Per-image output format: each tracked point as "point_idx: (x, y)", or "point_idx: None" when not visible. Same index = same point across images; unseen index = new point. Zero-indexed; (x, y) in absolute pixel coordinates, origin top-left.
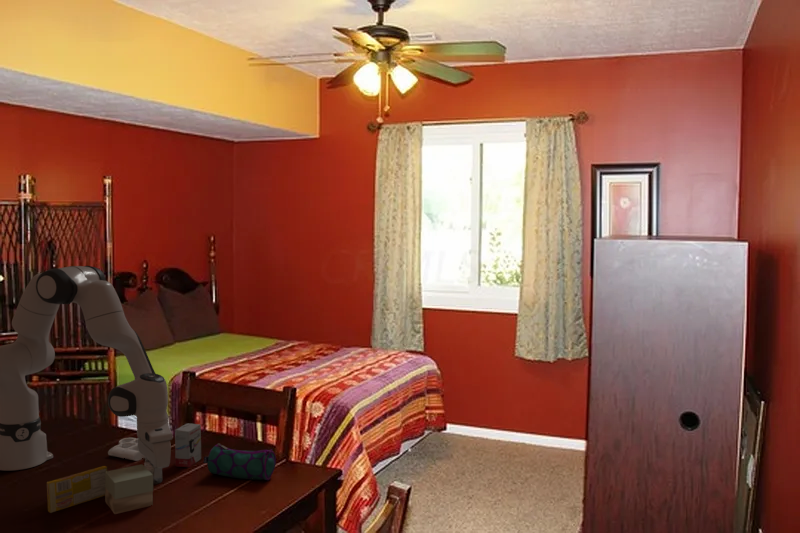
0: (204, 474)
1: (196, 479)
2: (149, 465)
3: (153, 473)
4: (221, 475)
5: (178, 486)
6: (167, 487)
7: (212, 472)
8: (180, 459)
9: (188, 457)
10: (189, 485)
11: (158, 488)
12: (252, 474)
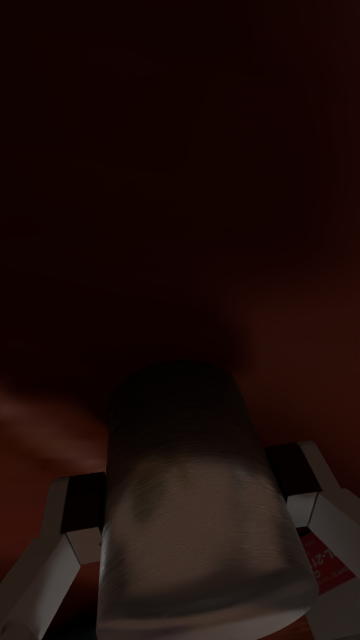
0: None
1: (88, 567)
2: (112, 595)
3: (72, 512)
4: (81, 626)
5: (6, 513)
6: (10, 470)
7: (86, 635)
8: (340, 577)
9: (307, 617)
10: (2, 549)
11: (10, 427)
12: None
